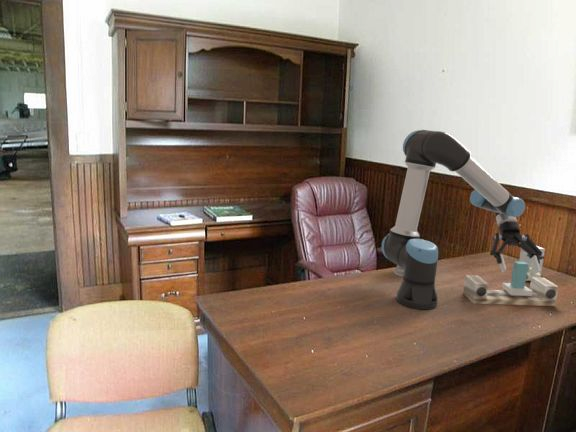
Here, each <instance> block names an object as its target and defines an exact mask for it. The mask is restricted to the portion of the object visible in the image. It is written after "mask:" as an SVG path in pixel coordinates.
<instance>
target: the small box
mask: <svg viewBox="0 0 576 432" xmlns="http://www.w3.org/2000/svg"><path fill="white" fill-rule="evenodd" d="M536 246H537V247H538V248H539V250H540V251H541V252H542V254H541V255H542V256H544V257H545V251H546V248H543V247H541V246H538V245H536ZM527 254H528V253H527V252H526V251H524V250H523V249H522V248H521V247H520V255H519V260H518V261H519V262H526V263H527V264H528V269H527V273H529V272H530V271H529V268H531V267H532V260H531V258H529V256H527ZM544 260H545V258H544V259H542V260H539V261H540V264H539V266H540V269H541V271H539V273H540V275H541V276H542V271H543V267H544V266H543V265H544Z"/></svg>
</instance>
